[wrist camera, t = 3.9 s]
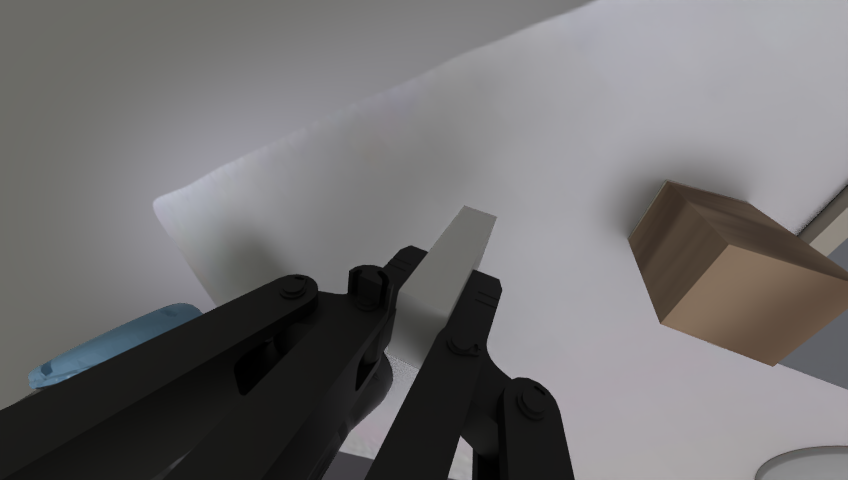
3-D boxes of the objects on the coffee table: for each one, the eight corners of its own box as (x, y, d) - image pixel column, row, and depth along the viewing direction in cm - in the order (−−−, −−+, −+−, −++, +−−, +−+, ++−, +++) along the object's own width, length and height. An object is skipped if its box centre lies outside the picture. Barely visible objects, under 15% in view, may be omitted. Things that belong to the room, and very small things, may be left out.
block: (627, 239, 24) (660, 323, 16) (666, 179, 21) (729, 244, 13) (698, 262, 23) (772, 366, 15) (748, 202, 20) (873, 289, 12)
